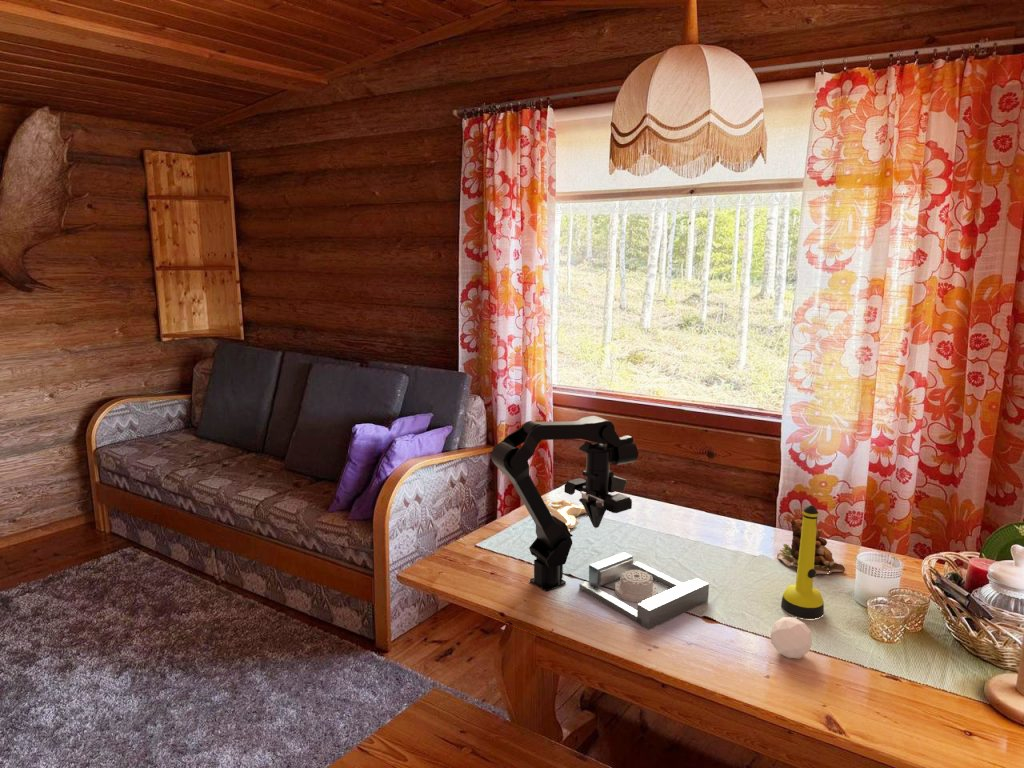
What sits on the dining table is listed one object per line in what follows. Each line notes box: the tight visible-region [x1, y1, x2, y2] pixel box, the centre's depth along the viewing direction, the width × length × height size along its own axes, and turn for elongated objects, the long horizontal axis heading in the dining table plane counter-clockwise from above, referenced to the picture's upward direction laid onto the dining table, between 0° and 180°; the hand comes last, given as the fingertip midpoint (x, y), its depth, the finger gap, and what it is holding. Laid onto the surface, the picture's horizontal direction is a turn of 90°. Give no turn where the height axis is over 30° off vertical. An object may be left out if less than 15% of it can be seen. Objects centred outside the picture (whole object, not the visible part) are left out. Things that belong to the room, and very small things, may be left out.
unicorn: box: [544, 499, 587, 533], centre depth 205 cm, size 20×4×17 cm
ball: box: [770, 616, 813, 659], centre depth 135 cm, size 8×8×8 cm
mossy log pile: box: [776, 515, 846, 575], centre depth 174 cm, size 14×15×12 cm
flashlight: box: [780, 504, 825, 619], centre depth 150 cm, size 25×9×9 cm
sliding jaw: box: [588, 551, 634, 588], centre depth 167 cm, size 12×4×5 cm, turn 126°
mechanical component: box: [614, 569, 659, 603], centre depth 160 cm, size 10×4×10 cm
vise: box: [579, 561, 710, 631], centre depth 159 cm, size 20×22×4 cm
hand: (596, 527), depth 169 cm, fingers closed
